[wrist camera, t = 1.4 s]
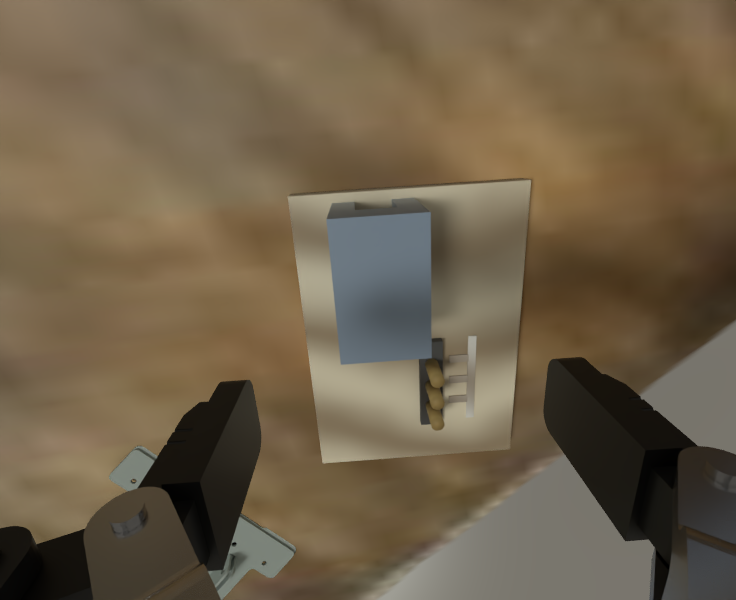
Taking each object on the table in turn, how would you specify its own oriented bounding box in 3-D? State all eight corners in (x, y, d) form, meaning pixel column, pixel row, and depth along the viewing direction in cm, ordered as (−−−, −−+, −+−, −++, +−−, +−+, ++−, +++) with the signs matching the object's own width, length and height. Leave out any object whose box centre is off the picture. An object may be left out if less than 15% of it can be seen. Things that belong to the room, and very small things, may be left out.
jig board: (290, 194, 23) (279, 203, 19) (522, 178, 23) (552, 184, 19) (323, 451, 29) (319, 492, 26) (503, 437, 29) (523, 476, 26)
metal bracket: (176, 702, 30) (-17, 613, 26) (191, 629, 36) (33, 546, 31) (308, 556, 31) (141, 445, 27) (302, 506, 36) (163, 409, 32)
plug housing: (331, 203, 22) (326, 219, 17) (413, 197, 22) (430, 212, 17) (343, 322, 24) (340, 364, 19) (416, 317, 24) (431, 358, 20)
